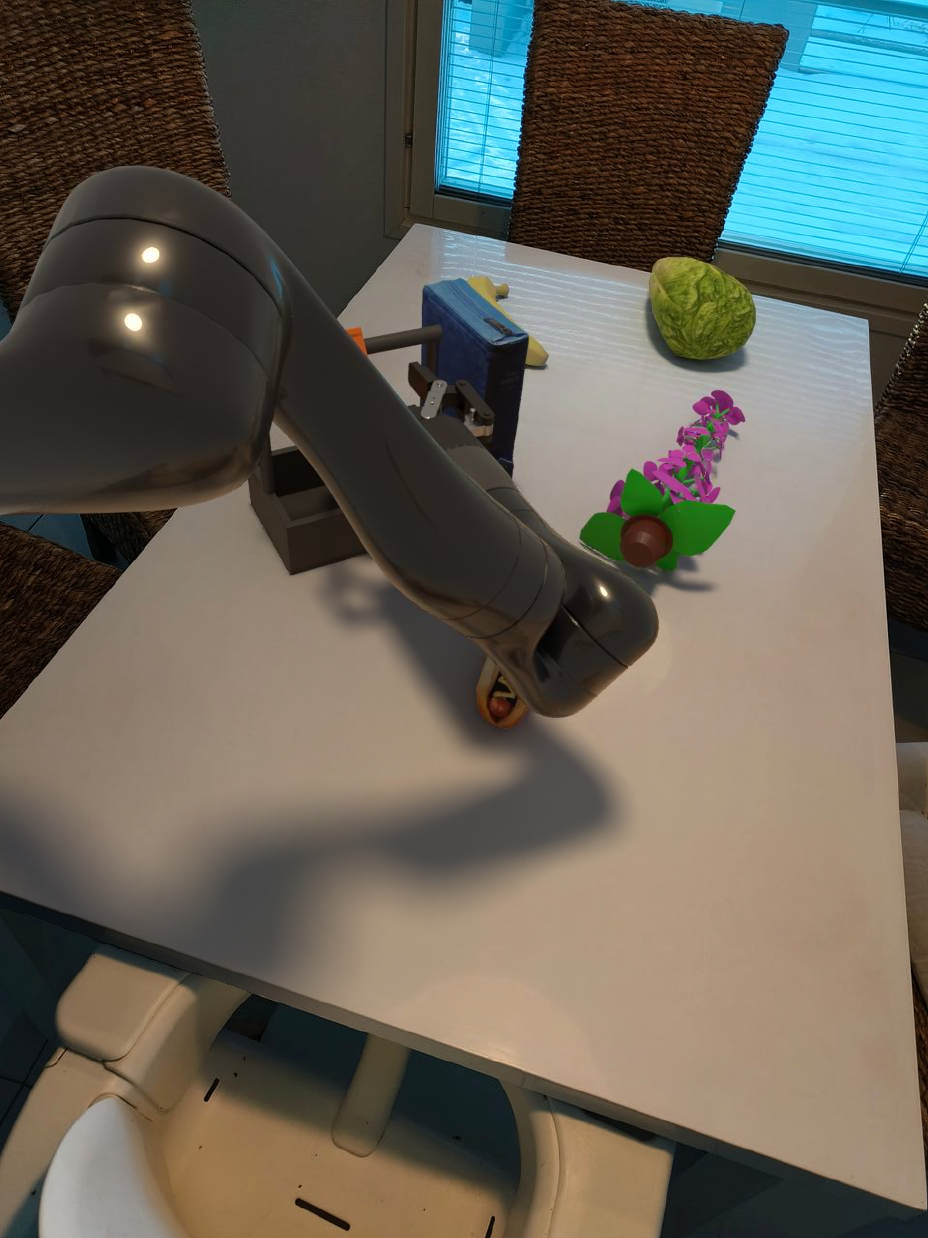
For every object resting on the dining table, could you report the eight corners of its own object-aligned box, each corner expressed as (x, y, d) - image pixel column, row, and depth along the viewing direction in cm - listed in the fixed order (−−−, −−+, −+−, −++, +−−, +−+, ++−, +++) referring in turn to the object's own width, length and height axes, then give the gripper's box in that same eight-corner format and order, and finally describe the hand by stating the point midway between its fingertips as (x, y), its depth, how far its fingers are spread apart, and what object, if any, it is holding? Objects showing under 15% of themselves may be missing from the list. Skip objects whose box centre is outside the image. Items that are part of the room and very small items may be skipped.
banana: (456, 301, 107) (475, 254, 122) (442, 341, 110) (462, 290, 126) (555, 344, 109) (562, 292, 124) (538, 382, 112) (546, 327, 127)
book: (516, 504, 92) (544, 333, 77) (474, 518, 90) (495, 345, 75) (450, 433, 100) (464, 266, 85) (410, 444, 98) (418, 274, 83)
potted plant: (576, 610, 87) (664, 457, 112) (739, 600, 78) (796, 436, 103) (539, 505, 81) (640, 368, 106) (710, 481, 72) (777, 337, 97)
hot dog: (460, 729, 71) (466, 692, 68) (509, 622, 80) (516, 585, 76) (517, 749, 70) (525, 712, 67) (560, 639, 79) (569, 602, 75)
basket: (288, 575, 82) (272, 398, 67) (248, 504, 88) (226, 328, 74) (453, 527, 89) (470, 356, 74) (404, 464, 95) (411, 296, 81)
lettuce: (719, 256, 128) (666, 202, 121) (785, 329, 111) (727, 270, 104) (659, 318, 134) (606, 269, 127) (713, 396, 116) (654, 344, 110)
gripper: (542, 427, 64) (442, 325, 73) (368, 472, 58) (284, 355, 68) (528, 505, 69) (437, 401, 78) (368, 553, 64) (290, 434, 73)
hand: (366, 380), depth 73 cm, fingers open, 8 cm apart
